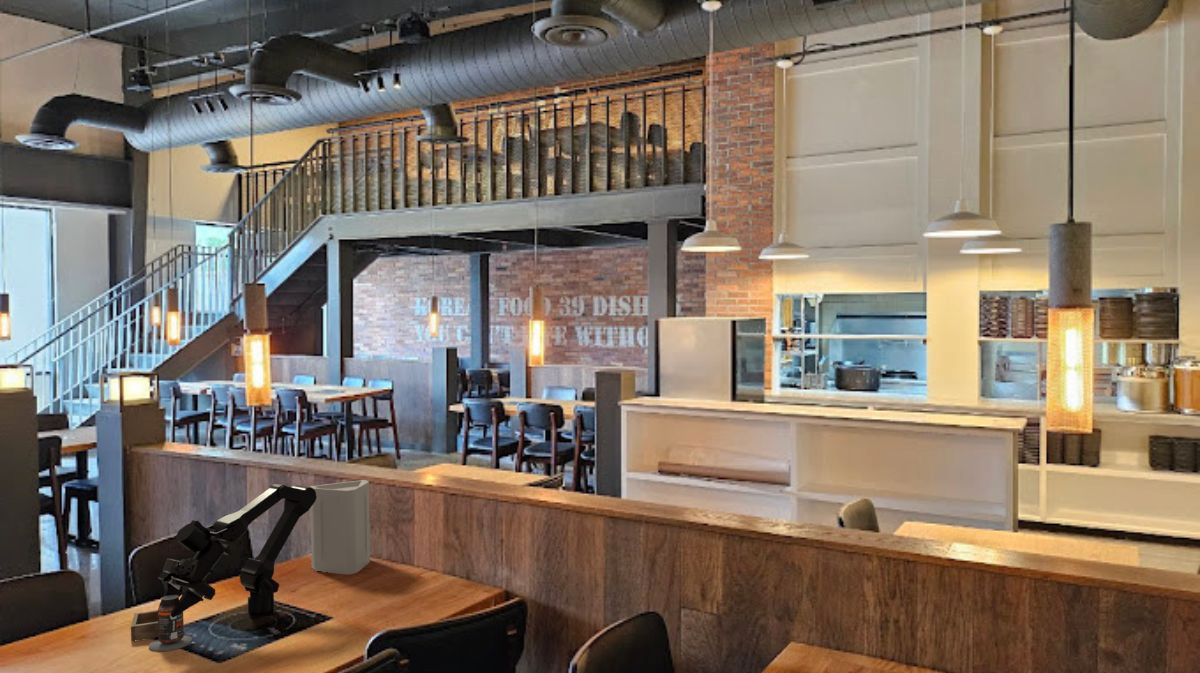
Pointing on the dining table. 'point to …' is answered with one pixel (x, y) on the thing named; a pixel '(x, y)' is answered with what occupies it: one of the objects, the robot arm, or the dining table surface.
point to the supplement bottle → (169, 621)
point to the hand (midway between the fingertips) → (165, 614)
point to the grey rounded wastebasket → (340, 527)
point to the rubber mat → (170, 645)
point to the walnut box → (144, 625)
